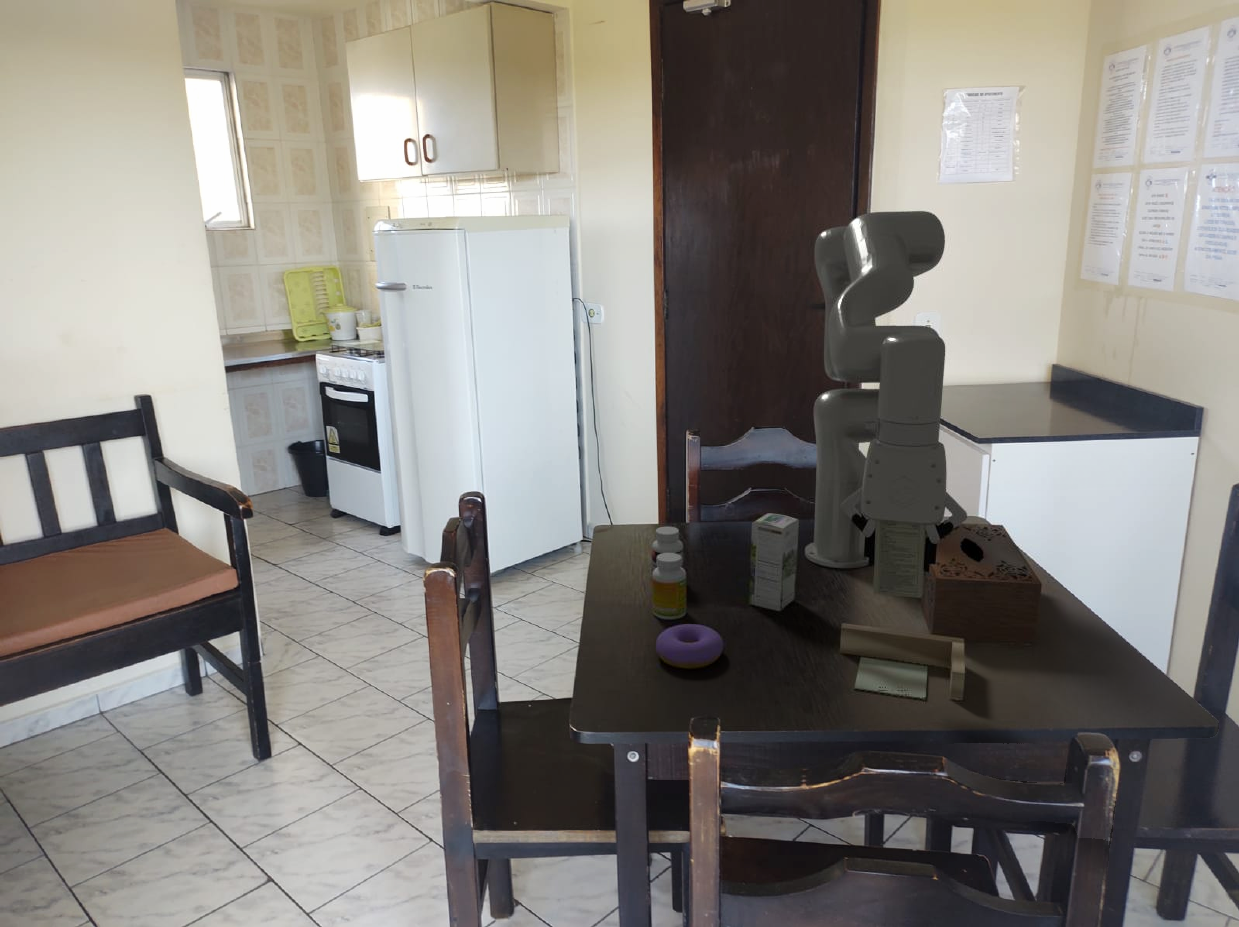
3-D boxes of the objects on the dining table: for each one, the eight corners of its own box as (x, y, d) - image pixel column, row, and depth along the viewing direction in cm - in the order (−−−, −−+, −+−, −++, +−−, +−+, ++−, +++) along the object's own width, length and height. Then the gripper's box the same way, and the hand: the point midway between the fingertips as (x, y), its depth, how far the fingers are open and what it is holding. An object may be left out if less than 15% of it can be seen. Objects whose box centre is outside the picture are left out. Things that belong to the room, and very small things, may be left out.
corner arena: (841, 648, 128) (842, 623, 127) (961, 664, 123) (963, 638, 122) (831, 686, 118) (832, 659, 117) (962, 706, 112) (965, 678, 111)
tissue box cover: (1034, 647, 128) (1041, 583, 125) (931, 640, 131) (936, 578, 128) (997, 579, 152) (1002, 525, 150) (910, 574, 155) (914, 521, 152)
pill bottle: (646, 581, 154) (645, 529, 151) (669, 574, 157) (668, 522, 155) (665, 591, 150) (665, 537, 147) (689, 583, 153) (689, 530, 150)
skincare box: (923, 587, 117) (929, 499, 114) (922, 599, 113) (928, 509, 110) (873, 581, 119) (878, 495, 116) (870, 593, 115) (875, 505, 112)
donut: (685, 678, 120) (681, 644, 120) (645, 666, 128) (640, 634, 127) (738, 657, 126) (734, 624, 125) (697, 646, 133) (692, 615, 133)
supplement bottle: (683, 621, 138) (683, 564, 136) (650, 619, 139) (649, 562, 137) (688, 607, 143) (688, 551, 141) (655, 605, 144) (655, 550, 142)
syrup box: (764, 592, 148) (766, 511, 144) (796, 600, 145) (799, 517, 141) (748, 604, 144) (750, 521, 140) (781, 613, 140) (784, 527, 137)
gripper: (834, 435, 110) (828, 568, 115) (982, 443, 104) (970, 584, 109) (840, 422, 117) (835, 549, 121) (980, 429, 111) (969, 562, 116)
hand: (899, 564), depth 115 cm, fingers closed on skincare box, 6 cm apart
